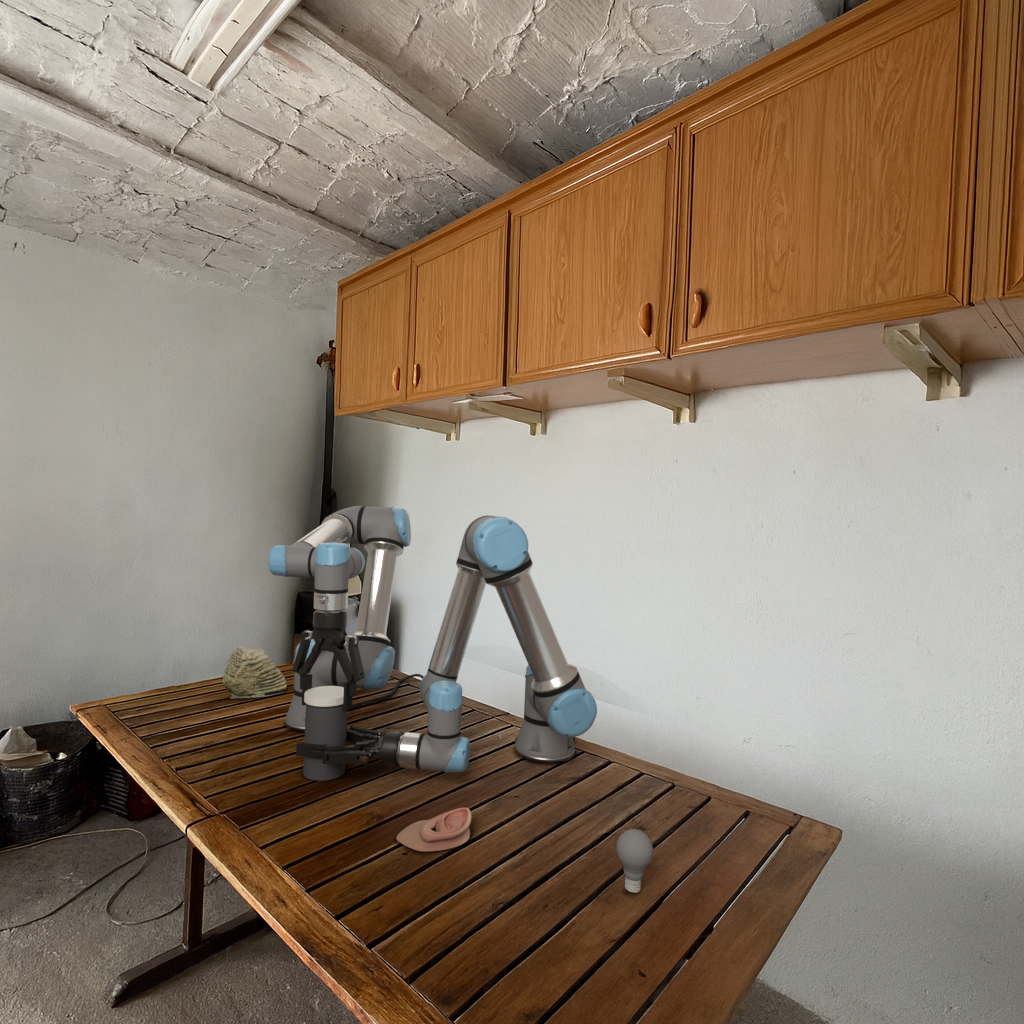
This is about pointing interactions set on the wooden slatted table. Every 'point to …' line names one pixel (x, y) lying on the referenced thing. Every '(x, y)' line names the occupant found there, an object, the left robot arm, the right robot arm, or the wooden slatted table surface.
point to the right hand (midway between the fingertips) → (306, 740)
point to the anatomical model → (438, 831)
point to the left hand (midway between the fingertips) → (326, 706)
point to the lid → (324, 696)
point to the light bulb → (634, 857)
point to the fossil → (252, 674)
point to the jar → (324, 739)
